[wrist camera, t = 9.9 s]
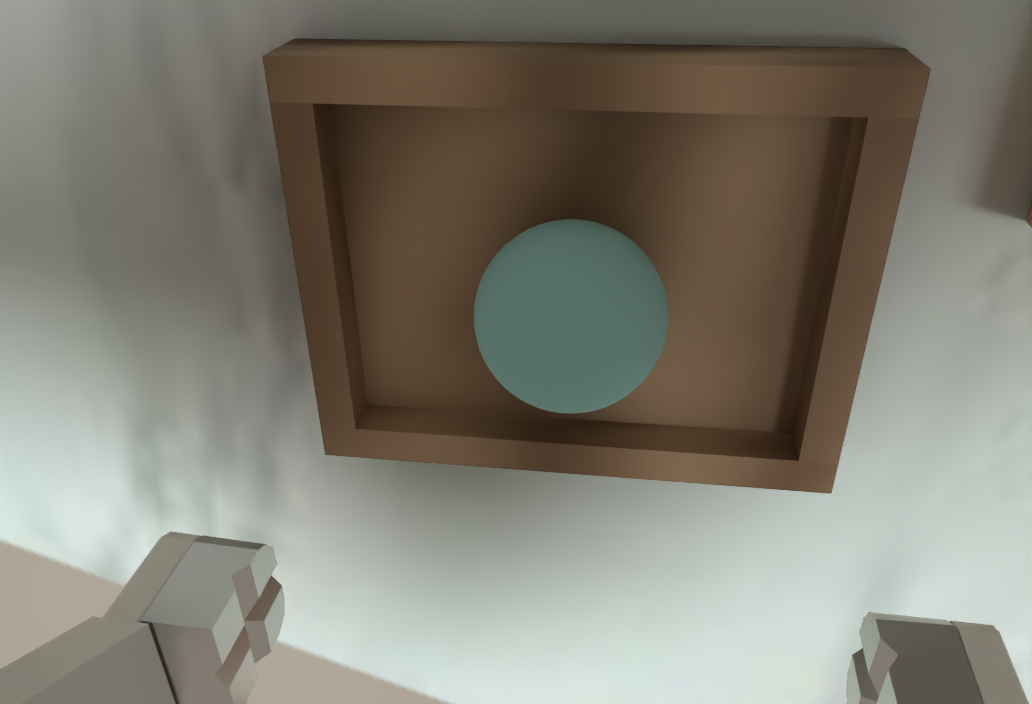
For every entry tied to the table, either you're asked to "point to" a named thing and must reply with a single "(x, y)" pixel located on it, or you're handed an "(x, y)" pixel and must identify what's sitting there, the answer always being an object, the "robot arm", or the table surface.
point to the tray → (606, 200)
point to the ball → (570, 316)
